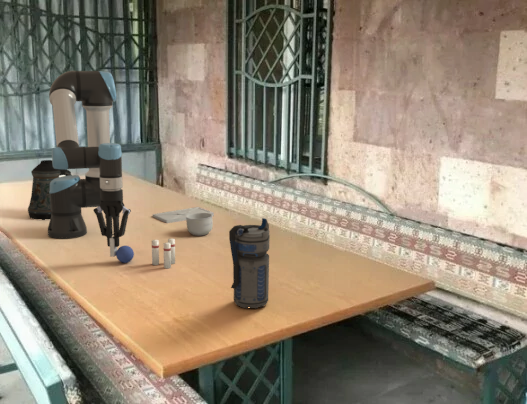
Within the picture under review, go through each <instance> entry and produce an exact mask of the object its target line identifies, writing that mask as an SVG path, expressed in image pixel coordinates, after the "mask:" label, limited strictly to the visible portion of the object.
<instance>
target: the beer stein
mask: <svg viewBox="0 0 527 404" xmlns="http://www.w3.org/2000/svg"><path fill="white" fill-rule="evenodd" d="M69 175H72V172H71V170H70V169H67V170H65V169H54V168H53V164H52V159H46V160H43V159H42V160H40V162H39V163H38V164H37V165H36V166H35V167H34V168H33V169H32V170H31V176H32V185H31V195H30V201H29V203H28V204H29V205H28V208H27V213H28V216H29V219H31V218H32V220H34V219H42V220H41V221H46V220H45V219H51V200H50V193H49V191H50V182H51V181H52V180H53V179H56V178H59V177H62V176H69Z"/></svg>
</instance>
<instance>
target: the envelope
mask: <svg viewBox="0 0 527 404" xmlns="http://www.w3.org/2000/svg"><path fill="white" fill-rule="evenodd" d="M199 212H203V213H210V214H212V217H214V212H213V211H211V210H208V209H205V208H202V207H200V206H196V207H189V208H183V209H176V210H171V211H165V212H157V213H152V217H153V218H154V219H157V220H159V221H161V222H164V223H166V224H171V223H177V222H182V221H183V222H184V221H186V216H187V215H189V214H192V213H199Z"/></svg>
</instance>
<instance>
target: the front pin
mask: <svg viewBox="0 0 527 404" xmlns="http://www.w3.org/2000/svg"><path fill="white" fill-rule="evenodd" d="M151 264H152V266H159V265H160V240H159V239H152V240H151Z"/></svg>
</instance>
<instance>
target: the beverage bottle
mask: <svg viewBox="0 0 527 404" xmlns="http://www.w3.org/2000/svg"><path fill="white" fill-rule="evenodd" d="M228 232H229V234H228V235H229V236H228V237H229V244H230V245H229V246H230V252H231V258H232V265H233V266H232V267H233V269H232V270H233V273H232V275H233V283H232V285H231V287H230V288H231V289H233V302H234V304H235V305H236V306H237V307H239V306H240V308H243V309H247V308H248V307H250V308H255V309H259V308H258V307H260V308H263V307H265V306H266V305H267V303H268V302H269V292H270V291H269V289H270V288H269V287H270V285H269V283H270V281H269V280H270V275H269V274H270V255H269V253H268V251H269V250H270V241H271V239H270V238H271V237H270V236H271V234H270V224H269V222H268V219H267V218H264V217H262V218H261V225H259V224H244V225H243V224H238V225H237V224H236V225H234V226H233V227H232V228H231V229H230V230H229V231H228ZM264 305H265V306H264ZM262 306H263V307H262Z"/></svg>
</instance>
